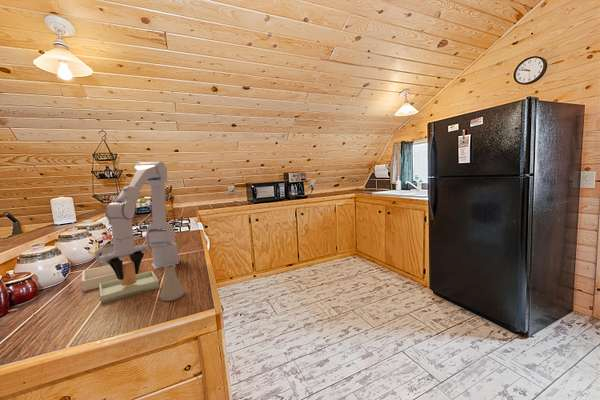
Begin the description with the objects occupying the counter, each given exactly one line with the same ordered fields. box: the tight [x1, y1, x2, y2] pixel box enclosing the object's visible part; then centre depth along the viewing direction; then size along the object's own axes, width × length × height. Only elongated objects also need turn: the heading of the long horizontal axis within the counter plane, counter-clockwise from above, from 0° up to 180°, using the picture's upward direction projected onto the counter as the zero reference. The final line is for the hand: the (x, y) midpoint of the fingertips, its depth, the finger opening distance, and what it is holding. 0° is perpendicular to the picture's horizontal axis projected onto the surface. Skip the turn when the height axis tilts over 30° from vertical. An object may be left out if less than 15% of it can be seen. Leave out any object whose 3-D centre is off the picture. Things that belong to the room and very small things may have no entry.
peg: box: [121, 260, 137, 286], centre depth 88 cm, size 4×4×7 cm
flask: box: [159, 264, 186, 302], centre depth 82 cm, size 7×7×10 cm
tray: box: [99, 270, 160, 305], centre depth 88 cm, size 16×12×2 cm
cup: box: [94, 243, 124, 266], centre depth 113 cm, size 7×10×9 cm
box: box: [81, 261, 124, 292], centre depth 96 cm, size 13×13×4 cm
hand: (128, 276), depth 88 cm, fingers closed on peg, 4 cm apart
